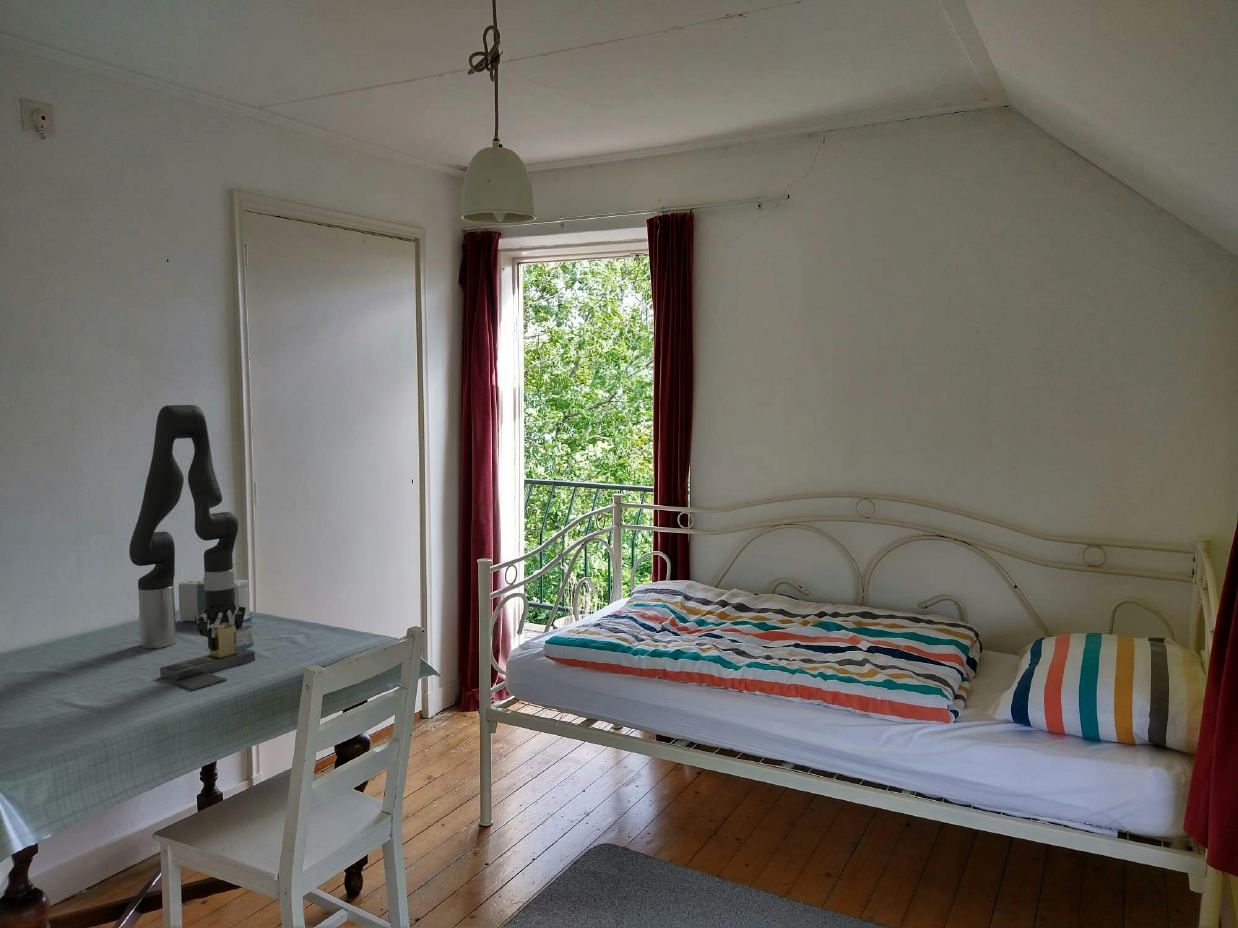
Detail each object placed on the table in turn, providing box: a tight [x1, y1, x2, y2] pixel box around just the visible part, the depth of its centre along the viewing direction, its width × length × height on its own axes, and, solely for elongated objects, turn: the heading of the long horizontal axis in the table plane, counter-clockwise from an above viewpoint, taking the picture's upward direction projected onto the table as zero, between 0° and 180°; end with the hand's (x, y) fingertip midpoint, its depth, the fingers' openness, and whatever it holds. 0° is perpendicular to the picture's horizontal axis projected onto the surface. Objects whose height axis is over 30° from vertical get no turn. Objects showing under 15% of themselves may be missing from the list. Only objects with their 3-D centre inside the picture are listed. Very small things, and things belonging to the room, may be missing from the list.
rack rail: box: [159, 647, 256, 682], centre depth 232 cm, size 8×22×3 cm, turn 147°
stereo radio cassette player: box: [178, 559, 250, 623], centre depth 281 cm, size 21×8×20 cm, turn 80°
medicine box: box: [221, 616, 254, 649], centre depth 250 cm, size 8×4×9 cm, turn 168°
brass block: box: [209, 624, 235, 660], centre depth 235 cm, size 4×4×10 cm
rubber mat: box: [172, 673, 227, 692], centre depth 221 cm, size 9×9×1 cm
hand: (222, 647), depth 236 cm, fingers closed on brass block, 4 cm apart
